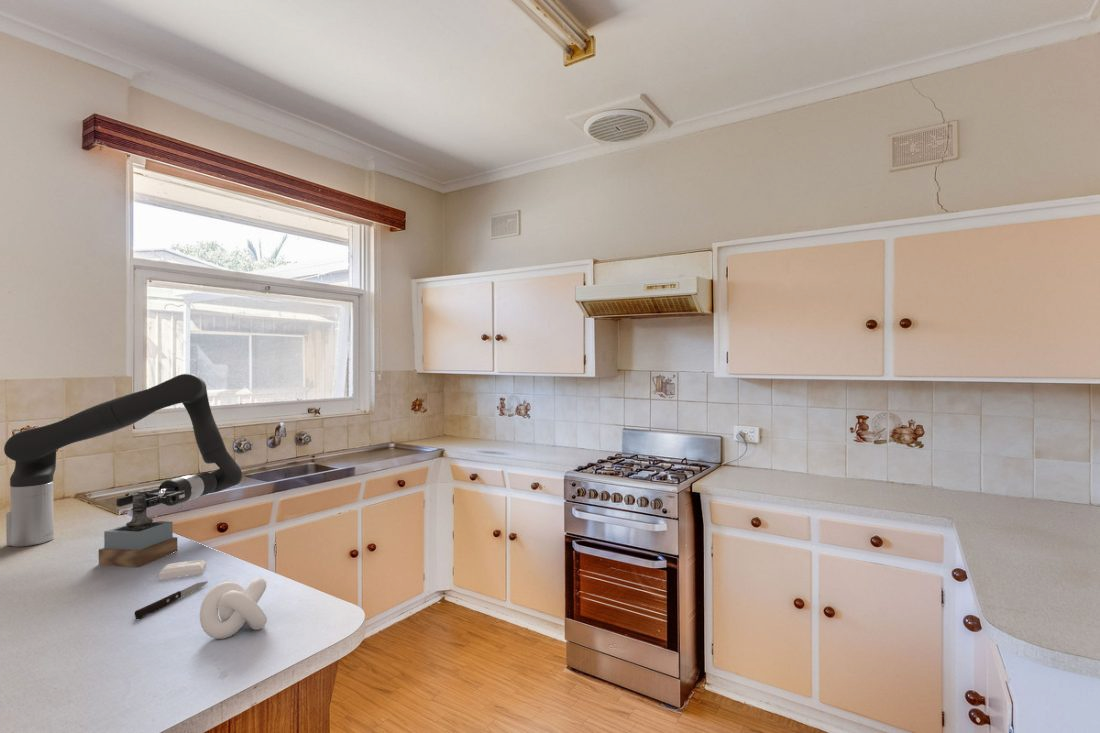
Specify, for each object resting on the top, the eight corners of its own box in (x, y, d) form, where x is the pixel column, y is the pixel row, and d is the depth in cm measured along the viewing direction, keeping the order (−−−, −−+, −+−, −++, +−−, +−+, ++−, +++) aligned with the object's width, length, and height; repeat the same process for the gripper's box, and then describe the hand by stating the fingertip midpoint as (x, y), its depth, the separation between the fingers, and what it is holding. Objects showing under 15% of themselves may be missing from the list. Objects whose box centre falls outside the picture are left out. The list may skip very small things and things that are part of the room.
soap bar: (164, 574, 136) (164, 563, 136) (206, 568, 139) (206, 558, 139) (158, 581, 131) (158, 570, 131) (202, 575, 135) (202, 564, 135)
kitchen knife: (137, 621, 110) (137, 611, 110) (133, 620, 110) (133, 611, 110) (209, 585, 128) (209, 577, 128) (206, 585, 128) (206, 576, 128)
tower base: (98, 566, 141) (98, 549, 141) (140, 551, 153) (140, 535, 153) (137, 569, 139) (137, 552, 139) (177, 553, 151) (177, 537, 151)
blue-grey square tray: (104, 548, 142) (104, 531, 142) (140, 536, 152) (139, 520, 152) (138, 550, 140) (138, 533, 140) (172, 537, 151) (172, 521, 151)
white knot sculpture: (229, 614, 113) (228, 571, 113) (285, 615, 112) (285, 571, 112) (191, 642, 101) (191, 594, 101) (254, 643, 101) (253, 595, 101)
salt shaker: (138, 539, 143) (137, 494, 143) (120, 538, 144) (119, 493, 144) (158, 532, 149) (157, 489, 149) (141, 531, 150) (140, 488, 150)
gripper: (161, 476, 162) (108, 488, 146) (202, 477, 160) (153, 490, 144) (161, 501, 162) (108, 516, 146) (202, 503, 160) (153, 518, 144)
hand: (130, 503), depth 145 cm, fingers open, 8 cm apart
